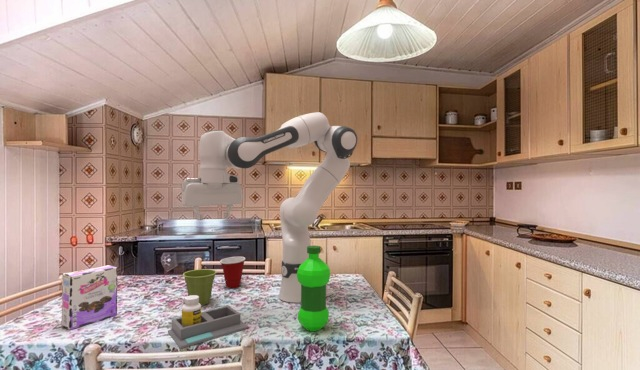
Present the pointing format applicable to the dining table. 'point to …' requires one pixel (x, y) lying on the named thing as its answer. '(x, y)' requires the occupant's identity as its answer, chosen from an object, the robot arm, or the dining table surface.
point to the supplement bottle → (191, 311)
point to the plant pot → (200, 283)
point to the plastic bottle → (313, 290)
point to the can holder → (207, 327)
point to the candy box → (89, 296)
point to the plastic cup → (233, 271)
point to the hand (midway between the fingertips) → (213, 218)
